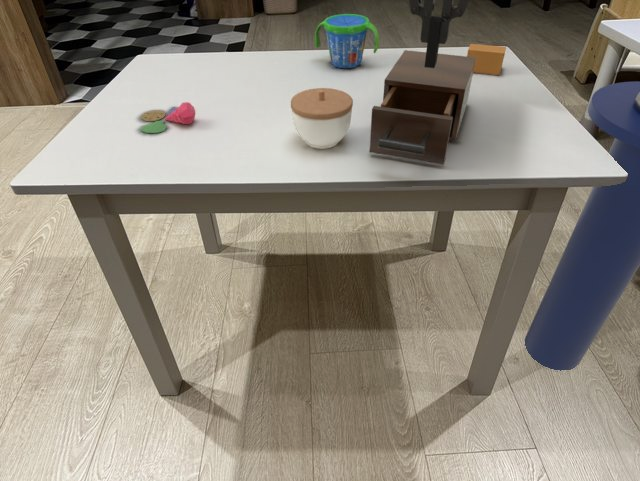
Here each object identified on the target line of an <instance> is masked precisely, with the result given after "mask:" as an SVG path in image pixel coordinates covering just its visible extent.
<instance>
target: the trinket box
mask: <svg viewBox="0 0 640 481" xmlns="http://www.w3.org/2000/svg"><path fill="white" fill-rule="evenodd" d="M353 106H354V101H353V98H352V96H351V95H350V94H348V92H345V91H343V90H340V89H335V88H330V87H318V88H310V89H309V88H308V89H306V90H302V91H300V92H297V93H296V94H295V95H294V96H292V98H291V99H290V108H291V117H292V122H293V126H294V129H295V131H296V133H297V135H298V136H299V138H301V140H302V141H304V142H305V143H306V145H307V146H309V147H311V148H313V149H318V150H327V149H331V148H333V147H336V146H337V145H339V142H341V140H343V139H344V137H345V136H346V135H347V133H348V131H349V129H350V126H351V122H352V117H353V116H352V114H353Z"/></svg>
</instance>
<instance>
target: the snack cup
mask: <svg viewBox="0 0 640 481" xmlns="http://www.w3.org/2000/svg"><path fill="white" fill-rule="evenodd" d="M322 27H324V30H325V33H326V40H327V45H328V53H329V59H330V62H331V65H333V66H334V67H335V68H339V69H352V68H356V67H358V66H361V64H362V62H363V56H364V51H365V44H366V38H367V33H368V30H370V31H371V32H372V33H373V36H374V46H373V54H376V53H377V51H378V50H379V45H380V36H379V32H378V30H377V28H376V26H375V25H374V24H373V23H371V22H370V19H369V18H368V17H367V16H365V15H361V14H354V13H344V14H343V13H342V14H341V13H340V14H335V15H331V16H327V17H326V18H325V19H324V20H323V21H322V22H320V23H319V24H318V25H317V27H316V29H315V33H314V45H315V47H316V49H318V48H320V46H321V40H320V30H321V28H322Z"/></svg>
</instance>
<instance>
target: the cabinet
mask: <svg viewBox="0 0 640 481" xmlns="http://www.w3.org/2000/svg"><path fill="white" fill-rule="evenodd" d="M425 58H426V51H417V50H416V51H415V50H406V49H405V50H403V52H402V53H401V55H400V56H399V58H398V59H397V60H396V62H395V64H394V65H393V67H392V68H391V69H390V71H389V72H388V74H386V77H385V78H384V80H383V81H384V83H383V84H384V85H383V96H382V102H383V101H384V99H385V97H386V96H387V94H388V93H389V91H390V90H391V88H392V86H401V87H409V88H417V89H425V90H433V91H441V92H449V93H457V94H458V95H457V101H456V106H455V112H454V117H453V122H452V126H451V130H450V136H449V141H448V142H451V143H452V142H453V143H456V141H457V138H458V134H459V131H460V128H461V125H462V121H463V119H464V115H465V112H466V108H467V105H468V100H469V95H470V90H471V85H472V81H473V75H474V73H473V71H474V66H475V61H476V57H467V55H457V54H447V53H438V56H437V62H436V65H435V68H427V67H424V66H425Z"/></svg>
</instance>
